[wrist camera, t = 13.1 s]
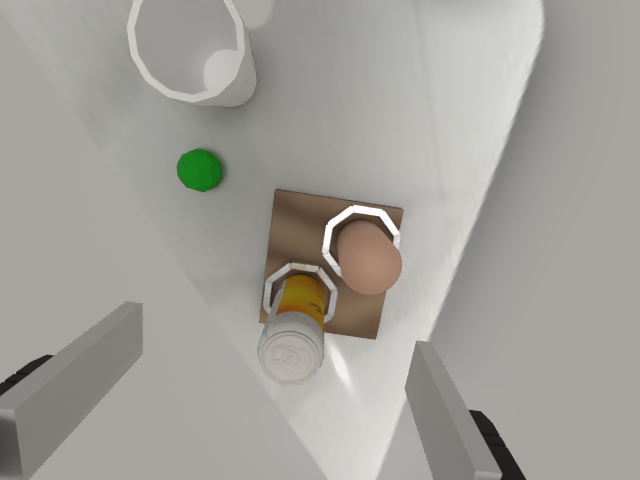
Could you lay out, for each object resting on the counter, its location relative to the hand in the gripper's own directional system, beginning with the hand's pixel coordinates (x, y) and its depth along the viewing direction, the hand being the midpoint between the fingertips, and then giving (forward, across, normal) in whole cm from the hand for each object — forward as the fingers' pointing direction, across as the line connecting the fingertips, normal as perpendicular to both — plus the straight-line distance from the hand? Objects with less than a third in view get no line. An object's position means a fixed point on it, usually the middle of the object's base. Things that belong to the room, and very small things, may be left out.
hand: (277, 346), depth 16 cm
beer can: (+26, 0, -9) cm, 28 cm away
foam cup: (+29, -12, +16) cm, 35 cm away
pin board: (+28, +3, -6) cm, 29 cm away
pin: (+27, +7, -1) cm, 28 cm away
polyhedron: (+28, -14, +5) cm, 32 cm away
